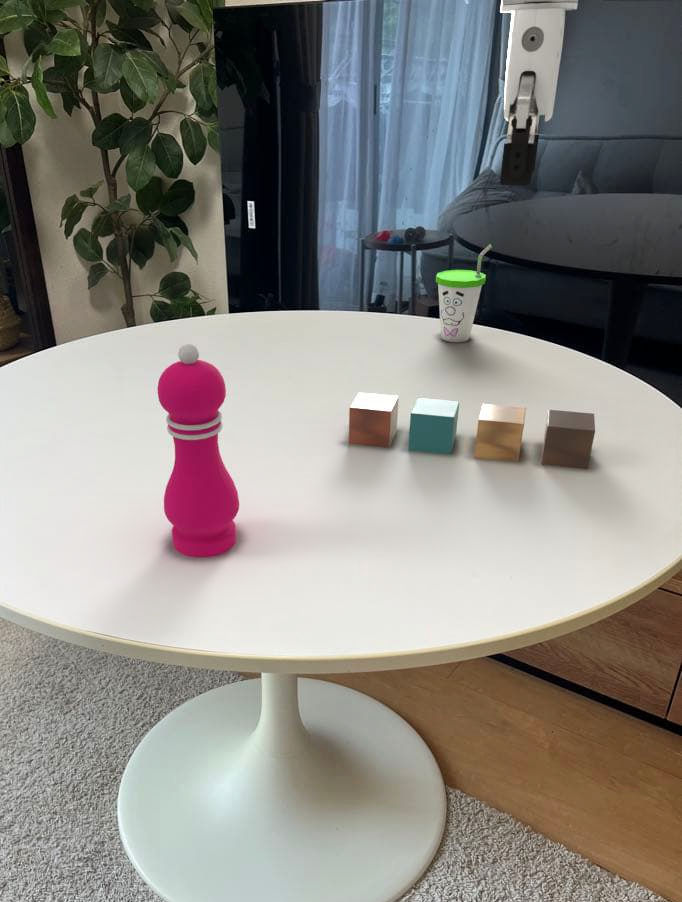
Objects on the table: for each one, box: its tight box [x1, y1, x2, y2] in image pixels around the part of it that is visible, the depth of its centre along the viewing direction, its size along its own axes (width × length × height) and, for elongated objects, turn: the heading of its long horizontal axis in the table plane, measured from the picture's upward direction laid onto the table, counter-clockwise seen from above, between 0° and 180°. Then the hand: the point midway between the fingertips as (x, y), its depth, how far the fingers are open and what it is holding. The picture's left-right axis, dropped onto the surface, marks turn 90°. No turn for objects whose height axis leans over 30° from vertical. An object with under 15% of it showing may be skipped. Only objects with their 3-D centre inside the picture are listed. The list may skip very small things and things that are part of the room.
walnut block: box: [540, 409, 596, 470], centre depth 90 cm, size 5×5×5 cm
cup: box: [435, 243, 493, 343], centre depth 126 cm, size 8×8×15 cm
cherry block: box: [348, 392, 400, 449], centre depth 96 cm, size 5×5×5 cm
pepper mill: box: [157, 343, 240, 558], centre depth 73 cm, size 7×7×20 cm
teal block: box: [408, 397, 460, 455], centre depth 94 cm, size 5×5×5 cm
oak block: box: [473, 403, 527, 463], centre depth 92 cm, size 5×5×5 cm
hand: (517, 178), depth 89 cm, fingers open, 9 cm apart
